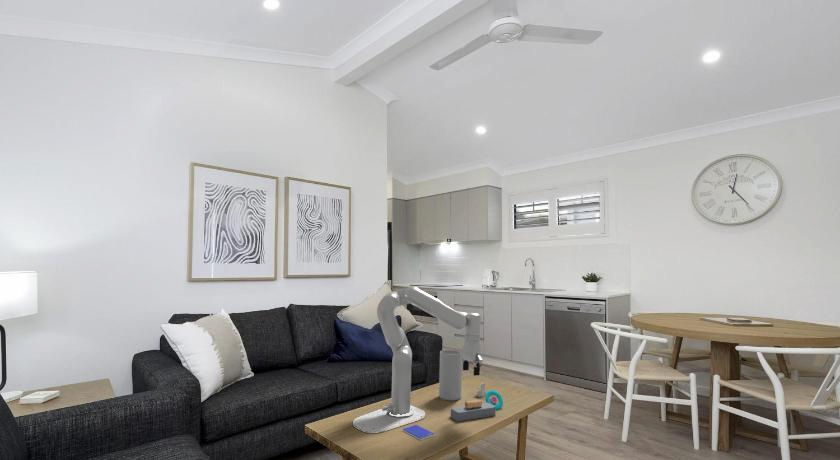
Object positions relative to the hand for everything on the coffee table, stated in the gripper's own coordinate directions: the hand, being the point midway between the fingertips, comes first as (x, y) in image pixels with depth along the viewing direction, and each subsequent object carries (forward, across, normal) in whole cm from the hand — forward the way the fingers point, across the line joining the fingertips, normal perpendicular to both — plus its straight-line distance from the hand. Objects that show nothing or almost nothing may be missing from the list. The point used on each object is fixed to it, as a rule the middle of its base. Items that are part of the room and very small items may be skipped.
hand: (471, 372), depth 210 cm
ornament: (+21, -5, +19) cm, 28 cm away
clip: (+20, +1, +2) cm, 20 cm away
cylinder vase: (+21, -28, +6) cm, 36 cm away
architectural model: (+21, -24, +24) cm, 40 cm away
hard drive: (+22, +10, -33) cm, 41 cm away
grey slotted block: (+21, +1, +2) cm, 21 cm away
